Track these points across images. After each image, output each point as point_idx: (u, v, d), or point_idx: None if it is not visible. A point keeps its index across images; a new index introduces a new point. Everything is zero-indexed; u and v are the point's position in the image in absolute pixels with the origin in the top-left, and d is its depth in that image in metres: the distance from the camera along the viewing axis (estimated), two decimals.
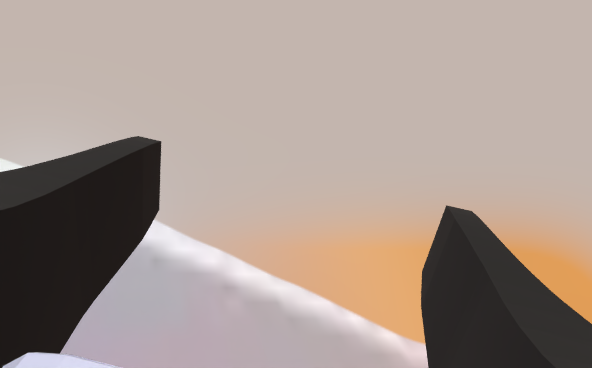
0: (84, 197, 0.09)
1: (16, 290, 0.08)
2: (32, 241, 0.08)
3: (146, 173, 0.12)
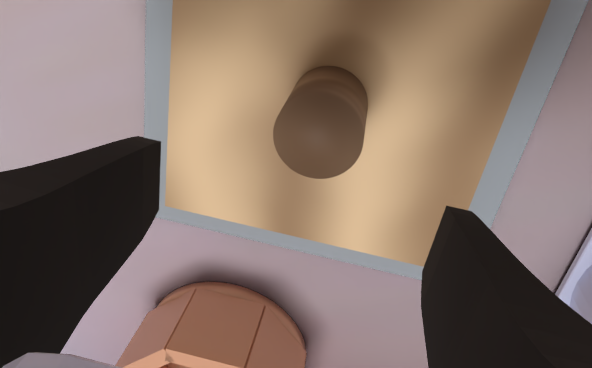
0: (84, 197, 0.09)
1: (16, 290, 0.08)
2: (32, 241, 0.08)
3: (146, 173, 0.12)
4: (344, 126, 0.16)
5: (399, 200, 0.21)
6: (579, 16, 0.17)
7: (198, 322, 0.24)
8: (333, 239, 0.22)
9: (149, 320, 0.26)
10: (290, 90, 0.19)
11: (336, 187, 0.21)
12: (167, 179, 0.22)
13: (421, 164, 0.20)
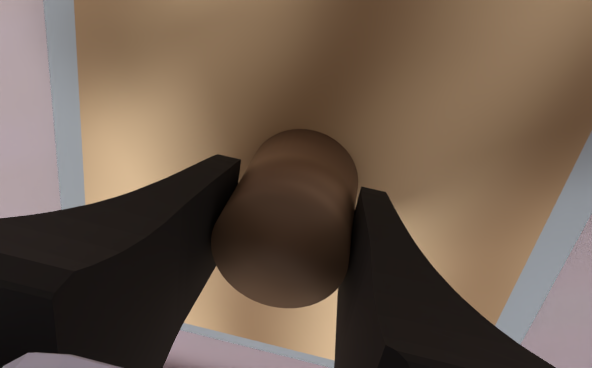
0: (187, 221, 0.09)
1: (138, 321, 0.08)
2: (152, 270, 0.08)
3: (229, 192, 0.11)
4: (319, 239, 0.10)
5: None
6: None
7: None
8: (313, 348, 0.17)
9: None
10: (248, 160, 0.14)
11: None
12: None
13: (433, 261, 0.14)
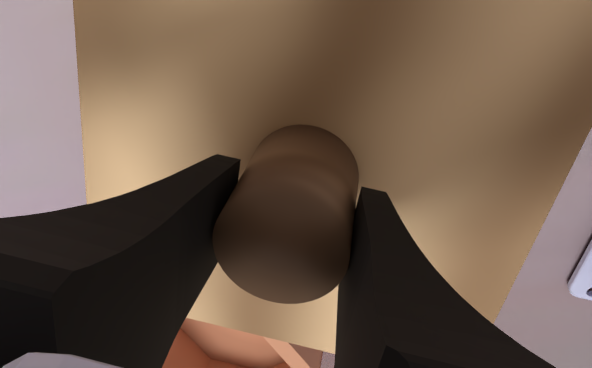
0: (187, 221, 0.09)
1: (138, 320, 0.08)
2: (152, 270, 0.08)
3: (229, 192, 0.11)
4: (320, 236, 0.10)
5: None
6: None
7: None
8: (315, 342, 0.17)
9: None
10: (249, 156, 0.14)
11: None
12: None
13: (434, 255, 0.14)
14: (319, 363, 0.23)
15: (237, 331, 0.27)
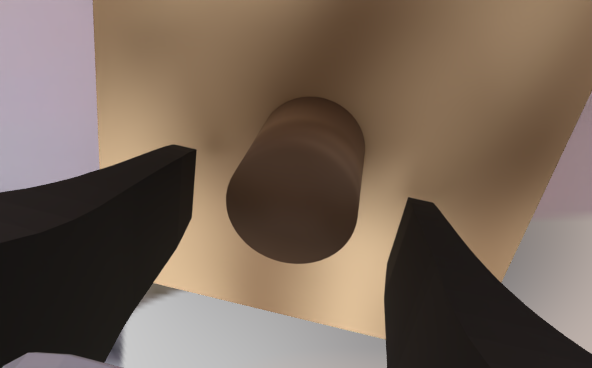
0: (130, 208, 0.09)
1: (70, 304, 0.08)
2: (85, 254, 0.08)
3: (183, 181, 0.12)
4: (330, 194, 0.11)
5: None
6: None
7: None
8: (321, 316, 0.17)
9: None
10: (259, 128, 0.14)
11: None
12: None
13: None
14: None
15: None
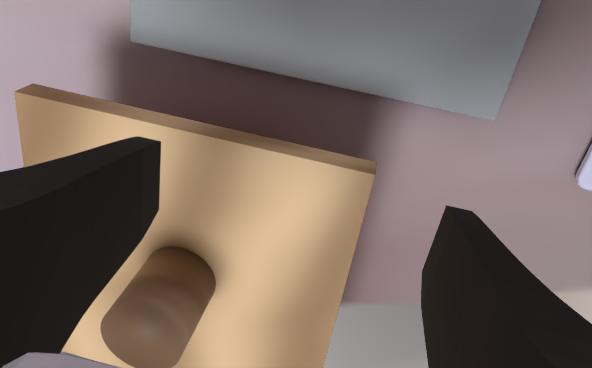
0: (84, 197, 0.09)
1: (16, 290, 0.08)
2: (32, 241, 0.08)
3: (146, 173, 0.12)
4: (162, 333, 0.17)
5: (257, 359, 0.21)
6: None
7: None
8: None
9: None
10: (143, 263, 0.20)
11: (198, 343, 0.22)
12: None
13: (272, 331, 0.21)
14: None
15: None
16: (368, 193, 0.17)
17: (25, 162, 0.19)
